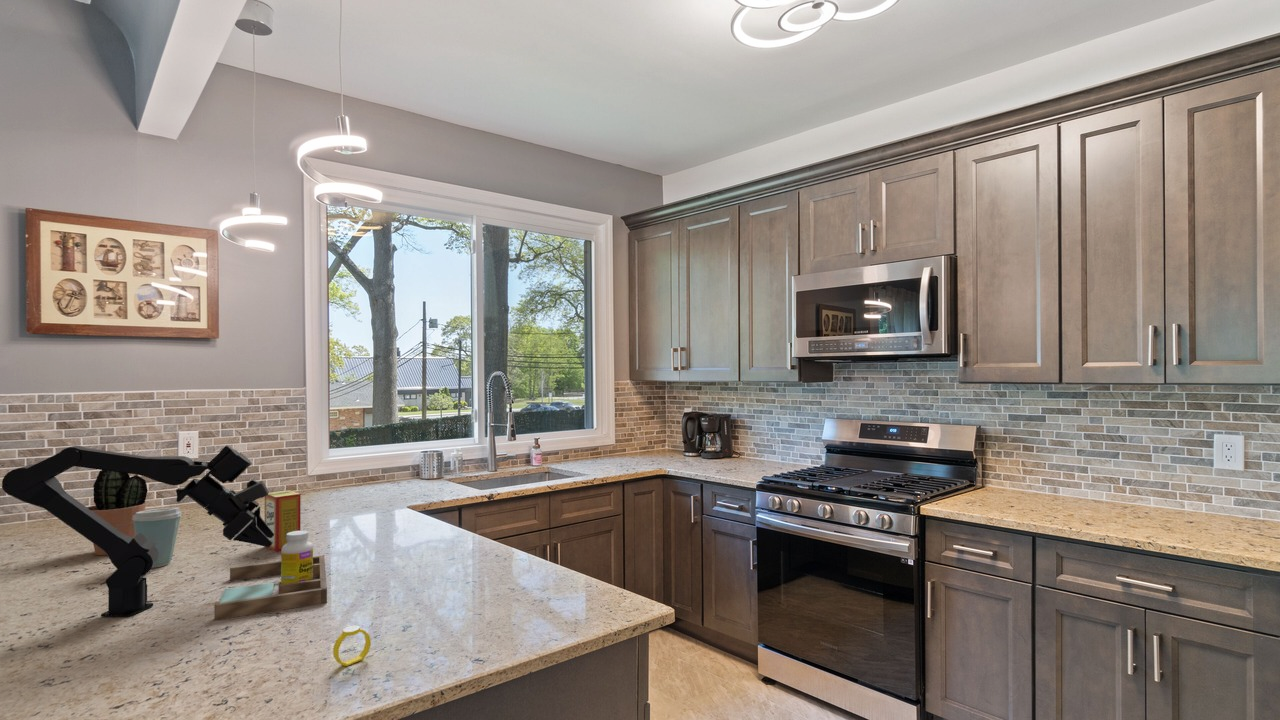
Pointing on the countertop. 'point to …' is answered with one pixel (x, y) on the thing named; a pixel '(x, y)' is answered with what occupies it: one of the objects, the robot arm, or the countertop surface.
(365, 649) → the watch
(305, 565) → the supplement bottle
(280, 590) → the wooden compartment box
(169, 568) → the countertop surface
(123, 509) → the potted plant
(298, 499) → the baking soda box
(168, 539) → the disposable coffee cup
